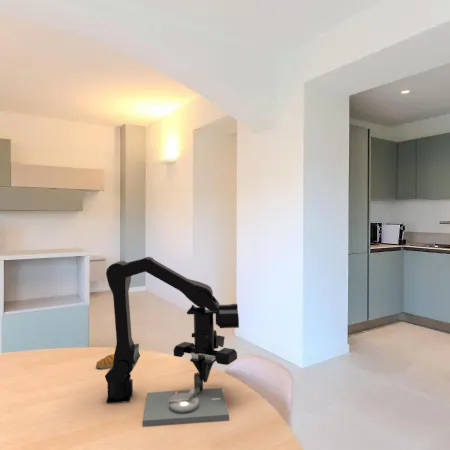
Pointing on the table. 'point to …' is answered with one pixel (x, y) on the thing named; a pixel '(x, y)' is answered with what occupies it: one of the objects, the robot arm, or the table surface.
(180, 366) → the table surface
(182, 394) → the silver handled piece
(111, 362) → the pastry
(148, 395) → the base plate
